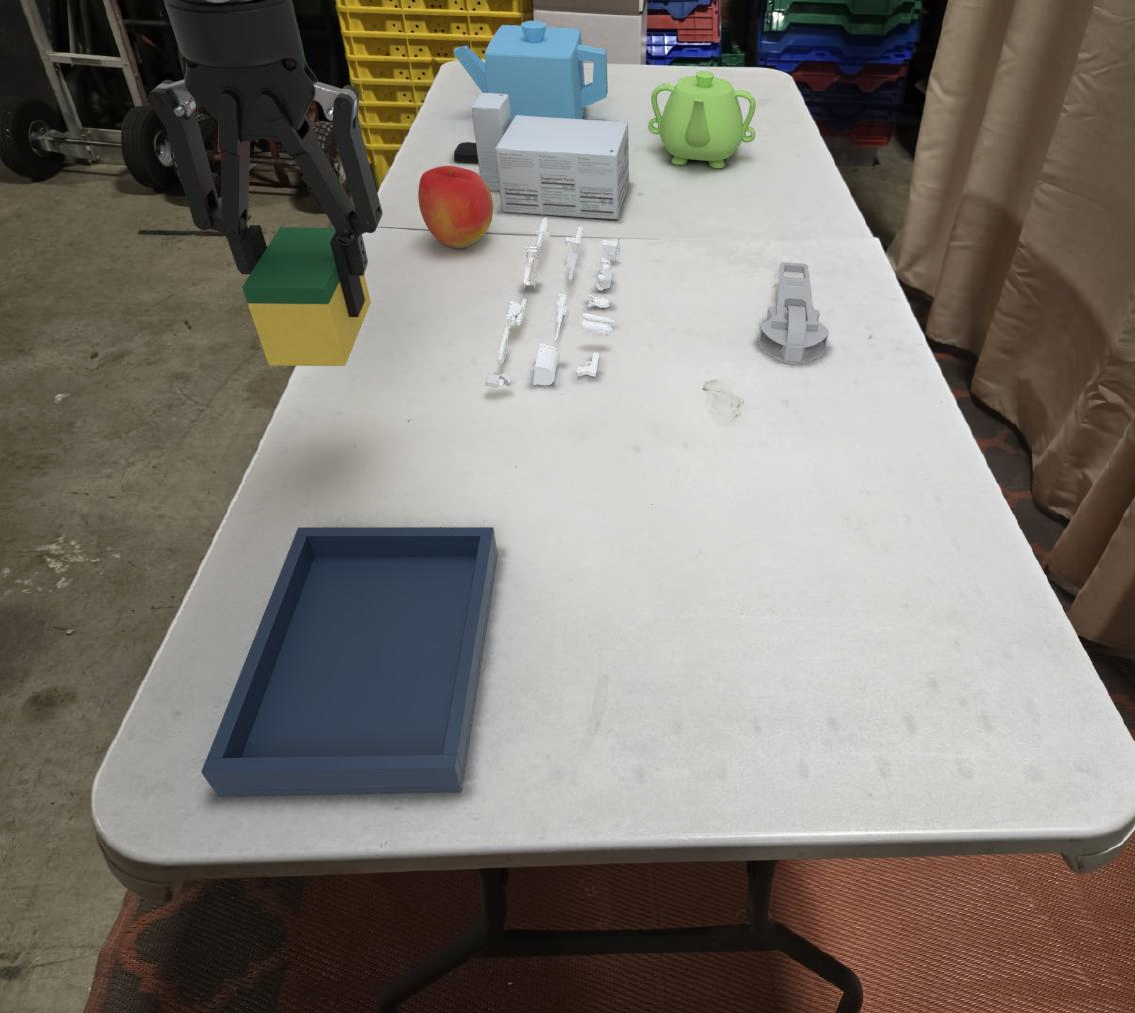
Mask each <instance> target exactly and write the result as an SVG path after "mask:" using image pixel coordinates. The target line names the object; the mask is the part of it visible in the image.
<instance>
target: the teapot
mask: <svg viewBox="0 0 1135 1013" xmlns="http://www.w3.org/2000/svg"><path fill="white" fill-rule="evenodd" d="M665 91H666V92H670V94H669V97H668V99H667V100H666V103H665V106H664V108H663V111H662V114H661V111H660V108H659V104H658V94H660V93H661V92H665ZM738 98H744V99H746V100H747V101H748V102H749V110H748V113H747V115H746V117H745V119H744V120H743V113H742V109H741V106H740V102H739V100H738ZM650 101H651V106H652V110H653V114H654V116H655V117H653V118H651V119H650V120H649V121H648V124H647V128H648V130H649V132H650V133H651V134H653V135H659V136H660V140H661V142H662V144H663V147H664V148H665V149H666V151H667V152H668V153H669V154H670V155H672V156H673V157H672V159H671V163H672V164H674V165H678V166H679V165H680V166H681V165H686V164H687V163H688V160H695V161H708V165H709V166H710V167H711V168H714V169H721V168H724V167H725V166H726V164H725V161H724V160H726V159H728V158H729V157H731V156H732V155H733V154H734V153H735V152H736V151H737V149H738V148H739V146H740V145H741V143H742V142H743V143H751V142H754V140H755V138H756V131H755V130H756V129H755V128H753V127H752V126H750V125H751V124H750V123H751V122H752V120H753V117H754V115H755V112H756V108H757V103H756V99H755V97H754V95H753V94H752V93H750V92H749V91H747V90H744V89H737V90H735V88H734V86H733V84H732V83H731V82H730V81H729V80H728V79H725V78H722V77H715V73H713V72H711V71H707V70H701V71H697V72H696V73H695V75H689V76H685V77H682V78H680V79H679V80H678V81H677V82H676V84H674V85H673V84H671V83H661V84H659V85H658V86H656V87H655V88H654V89H653V90H652V93H651V96H650ZM743 121H744V122H743ZM654 123H656V124H657V127H655V126H654ZM747 132H749V133H750V135H749V136H748V135H747V134H746V133H747Z"/></svg>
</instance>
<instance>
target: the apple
mask: <svg viewBox="0 0 1135 1013" xmlns="http://www.w3.org/2000/svg"><path fill="white" fill-rule="evenodd" d="M420 176H421V177H420V179H419V183H418V192H417V198H418V206H419V210H420V214H421V218H422V220H423V222H424V224H425V227H426V228H427V230H428V231H429V233H431V235H432V236H433V237H434V238H435V239H436V240H437V241H439V242H440V243H441V244H443V245H445V246H447V247H449V248H452V249H466V248H468V247H470V246H472V245H474V244H475V243H477V242H479V241H480V240H481V239H482V238H483V237H484V236H485V235H486V233H487V232H488V230H489V229H490V227H491V224H492V220H493V214H494V200H493V195H492V192H491V191H490V190H489V188H488V186H487V184H486V183H485V181H484V180H483V179H482V177H481V176H480V174H478V173H477V172H476V171H474V170H472V169H469V168H464V167H460V166H457V165H441V166H436V167H433V168H430V169H428V170H426V171H425V172H423V173H422V175H420Z"/></svg>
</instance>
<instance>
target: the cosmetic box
mask: <svg viewBox="0 0 1135 1013" xmlns="http://www.w3.org/2000/svg"><path fill="white" fill-rule="evenodd" d="M471 114H472V122H473V123H472V124H473V131H474V138H475V143H476V147H477V155H478V162H479V163H478V169H479V175H480V176H481V177H482V179H483V180H484V181H485V183H486V184H487V186H488V188H489V190H490V192H491V191H492V192H500V188H499V178H498V170H497V161H496V152H495V148H496V147H497V145H498V143H499V142H500V140H501V139H502V137H503V135H504V134H505V132H506V131H507V129H508V127H509V126H510V124H511V114H510V103H509V96H508V94H495V93H482V92H480V93H479V95H478V96H477V98H476V99H475V101H474V103H473V104H472V106H471Z"/></svg>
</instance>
